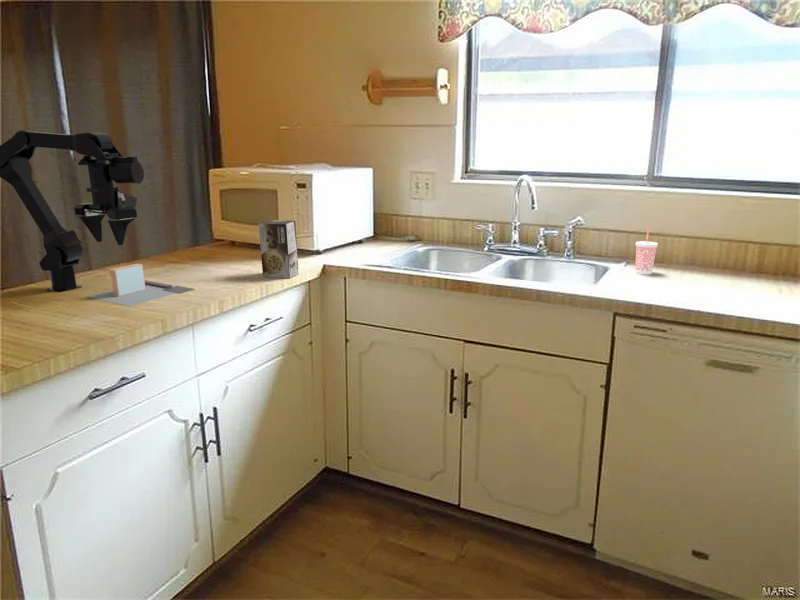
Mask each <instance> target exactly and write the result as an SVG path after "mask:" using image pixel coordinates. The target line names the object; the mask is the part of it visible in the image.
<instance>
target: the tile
mask: <svg viewBox="0 0 800 600" xmlns="http://www.w3.org/2000/svg"><path fill="white" fill-rule="evenodd" d="M109 269H110V270H109V272H110V277H111V278H110V280H111V285H112V290H113V293H114V296H118V297H120V296H124V295H127V294H131V293H135V292H139V291H143V290H146V287H145V280H146V279H145V274H144V273H145V272H144V267H143V263H135V264H133V263H132V264H129V265H125V266H120V267H119V266H118V267H115V268H109Z"/></svg>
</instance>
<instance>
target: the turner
mask: <svg viewBox="0 0 800 600" xmlns="http://www.w3.org/2000/svg"><path fill="white" fill-rule="evenodd" d="M144 280H145V284H146V285H151V286H156V287H161V288H166V289H163V290H164V291H169V292H174V293H176V294H179V295H180V294H183V293H186V292H191V291H193V290H195V288H192V287H185V286H181V285H174V286H173V285H172V284H168V283H163V282H158V281H152V280H151V281H150V280H146V279H144Z"/></svg>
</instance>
